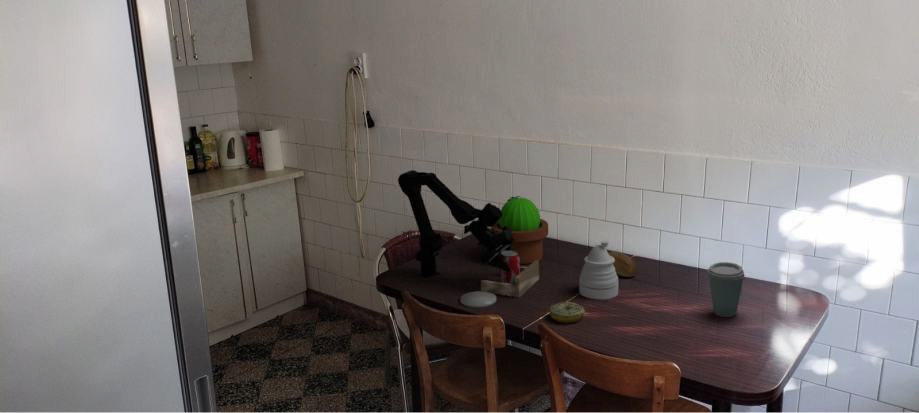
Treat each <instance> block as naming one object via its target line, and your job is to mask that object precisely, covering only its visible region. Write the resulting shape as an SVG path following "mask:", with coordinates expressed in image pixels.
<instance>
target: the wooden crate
mask: <svg viewBox="0 0 919 413" xmlns="http://www.w3.org/2000/svg"><path fill="white" fill-rule="evenodd" d="M539 266H540V260H539V261H538V260H535V261H534V262H533V263H530V264H529V265H528V266H521V265H520V274H519V275H518V276H517V277H516V278H515V279H516V284H508V283H501V281H493V280H492V281H491V280H484V279H481V280H480V291H484V292H490V293H492V294H494V295H498V294H500V296H505V295H507V297H512V296H513V298H520V297H522V296H523V295H524V294H525V293H526V292H527V291H528V290H529V289H530V288H531V287H533V285H534V284H535V283H537V281H539V279H540V267H539Z"/></svg>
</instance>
